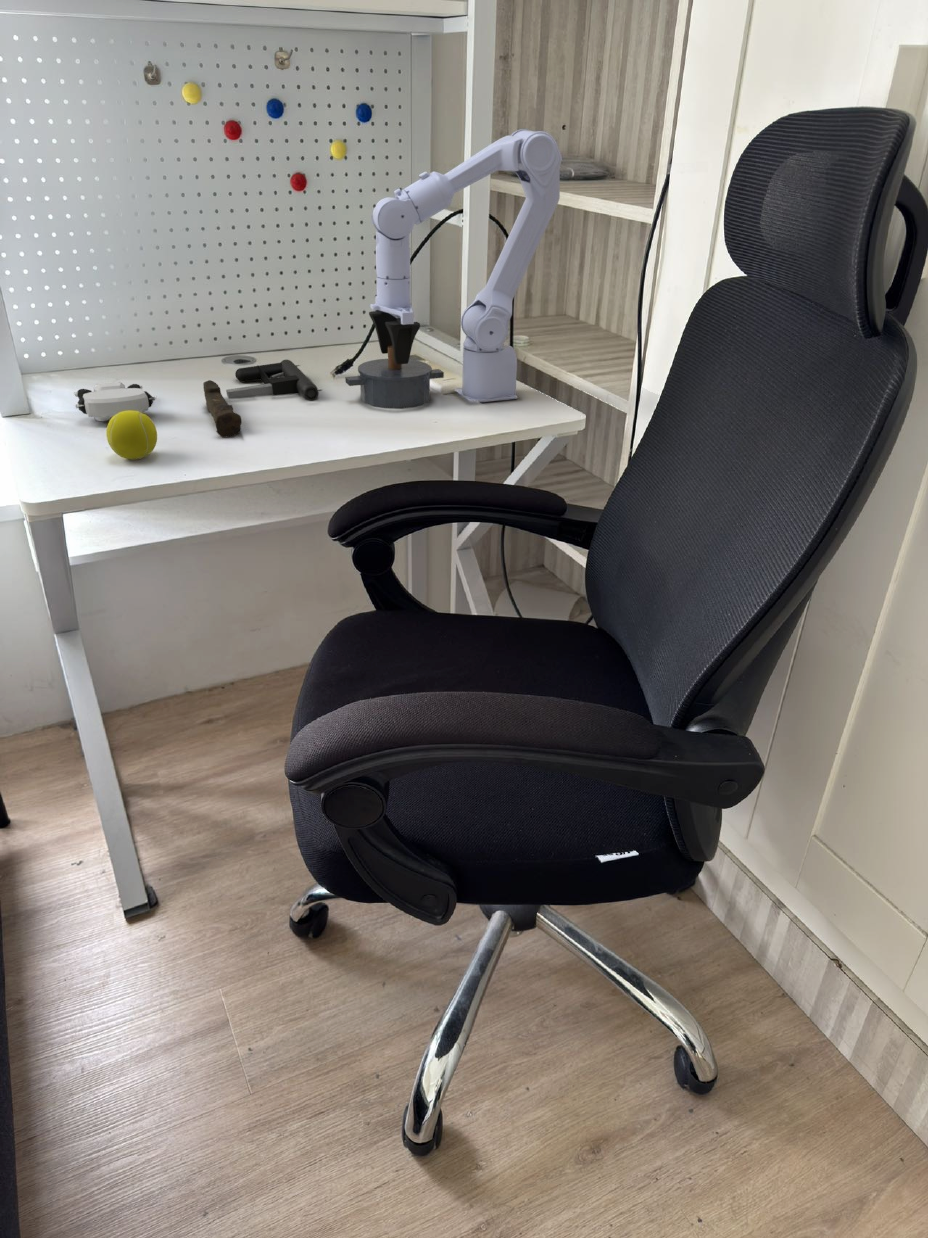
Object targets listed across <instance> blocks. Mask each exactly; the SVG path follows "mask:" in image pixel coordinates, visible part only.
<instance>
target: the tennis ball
mask: <svg viewBox="0 0 928 1238" xmlns="http://www.w3.org/2000/svg"><path fill="white" fill-rule="evenodd" d="M157 431H158V430H157V427H156V425H155V423H154V422H153V420H152V419H151V417H149V415H147V414H146V413H144V412H143V413H142V412H139V411H133V410H128V411H122V412H119V413H118V414H116V415H114V416H113V417H112V418H111V419H110V420H108V424H107V426H106V440H107V443H108V446H109V447H110V449H111V450H112V451H113V453H115V454H116V455H117V456H119V457H121V458H123V459H126V460H140V459H143V458H145V457H147V456H149V455H150V454H151V453H152V452H153V451H154V449H155V448H156V445H157V441H158V432H157Z"/></svg>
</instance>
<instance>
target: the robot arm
mask: <svg viewBox="0 0 928 1238" xmlns="http://www.w3.org/2000/svg"><path fill="white" fill-rule="evenodd" d="M562 162H563V157H562V154H561V151H560V149H559V146H558V143H557V141H556V139H555V138H554V137H553V136H552V135H551V134H550V133H549V132H546V131H542V130H541V131H540V130H539V131H535V130H534V131H533V130H530V129H526V128H521V129H517V130H516V131H513V132H512V134H510V135H505V136H503V137H500V138H499V139H497V140H496V141H494V142H492V143H490V144H489V145H487V146H486V147H484V148H482V149H481V150H480V151H478V152H477V153H475V154H474V155H472V156H471V157H469V158H467V159H466V160H464V161H463V162H461V163H460V164H459V165H456V166H455V167H454V168H452V169H450V170H449V171H448V172H446V173H444V174H443V173H440V172H439V171H438V172H437V171H431V172H430V173H428V171H423V172H421V173H420V174H419V175H418V177H419V179H418V180H416V181H415V182H413V183H411V184H410V185H408V186H406V187H405V188H403V189H401V188H397V189H395V190H394V191H393V193H394V197H389V196H388V197H384V198H382V199H380V200H379V201H378V202H377V203H376V204H375V206H374V207H373V211H372V214H371V223H372V225H373V227H374V229H376V231H375V242H376V244H375V245H376V246H375V274H376V276H375V278H376V280H375V281H376V295H375V296H374V303H370V304H369V306H370V307H369V308H370V310H371V311H369V312H368V315H369V318H370V319H371V321H372V323H373V327H374V329H375V332H376V335H377V339H378V345H379V348H380V349H379V350H380V353H381V354H383V355H384V354H388V346H393V353H394V359H395V363H396V364H408V361H409V359H410V358H411V352H412V347H413V343H414V342H415V338H416V336H417V334H418V332H419V330H420V328H421V323H420V322H419V321H415V313H414V311H413V308H412V307H413V304H412V302H411V247H410V234H412V231H413V229H414V226H415V225H416V226H417V225H420V224H422V223H423V222H425V221H427V220H429V219H430V218H432V217H434V216H435V215H437V214H438V213H440V212H442V211H444V210H446V209H447V208H448V207H450V206H451V204H452V201H453V198H454V197H455V196H454V195H455V194H456V193H458V192H459V191H461V190H464V189H466V188H467V187H469V186H471V185H472V184H475V183H476V182H478V181H480V180H482V179H484V178H486V177H487V176H489V175H492V174H493V173H495V172H497V171H503V172H514V173H515V175H516V176H517V177H518V178H519V181H520V184H521V187H522V190H523V193H524V196H525V199H524V201H523V204H522V206H521V208H520V210H519V212H518V215H517V216H516V219H515V221H514V223H513V225H512V227H511V230H510V232H509V235H508V237H507V239H506V241H505V243H504V246H503V247H502V250H501V252H500V254H499V256H498V258H497V261H496V263H495V265H494V267H493V270H492V272H491V273H490V276H489V278H488V280H487V282H486V285H485V286H484V287H483V288H482V289H481V290H480V291H479V292H478V293H477V294H476V296H475V298H474V300H473V302H472V303H471V304H470V305H468V307H467V308H466V309H464V311H463V313H462V314H461V318H460V327H461V330H462V332H463V333H464V335H465V336H466V337H465V339H464V342H463V343H462V379H461V381H462V385H461V388H454V391H455V392H456V393H458V394H459V395H460V396H461V397H463V398H464V399H466V400H467V401H468V402H479V403H487V402H498V401H507V400H508V401H509V400H517V399H518V395H516V394H517V374H518V358H517V354H516V351H515V349H514V348H513V346H511V345H505V342H506V340H507V338H508V335H509V322H510V320H511V318H512V316H513V300H514V298H515V295H516V293H517V291H518V289H519V287H520V286H521V283H522V281H523V278H524V276H525V274H526V272H527V270H528V268H529V266H530V263H531V262H532V260H533V257H534V255H535V254H536V251H537V249H538V246H539V245H540V242H541V240H542V238H543V236H544V234H545V232H546V230H547V227H548V226H549V224H550V221H551V219H552V217H553V215H554V213H555V210H556V209H557V207H558V204H559V201H560V197H561V196H560V194H561V191H560V189H561V186H560V185H561V183H560V181H561V179H560V177H561V176H560V174H561V173H560V171H561V170H560V168H561V166H562V165H561V164H562ZM372 310H373V311H372Z"/></svg>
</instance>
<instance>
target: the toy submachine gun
mask: <svg viewBox="0 0 928 1238" xmlns="http://www.w3.org/2000/svg"><path fill="white" fill-rule="evenodd" d="M299 366H301V364H297V365H296V364H295V363H294V362H293V361H292V360H290V359H283V360H281V361H280V362H275V363H268V364H267V363H266V364H261V365H253V366H246V367H239V368H237V369H236V371H235V372H234V373H235V378H236V380H237V381H239V382H242V383H245V382H253V381H259V380H260V381H261V383H263V384H256V385H250V386H249V385H248V386H242V387H236V388H229V389H226V390H225V391H226V397H227V398H228V399H240V398H251V397H261V396H272V395H273V396H283V395H293V394H294V395H295V394H296V395H297V394H300V395H301V397H302V398H303V399H305V400H307V401H312V402H313V401H315V400H316V399H317V398H318V397H319V392H321V391H322V389H318V387H317V385H315V383H313V381H312V380H311V379H310V378H309V377H308V376H307V375H306V374H305V373H304V372H303V371H302V369H300V368H299Z"/></svg>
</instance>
